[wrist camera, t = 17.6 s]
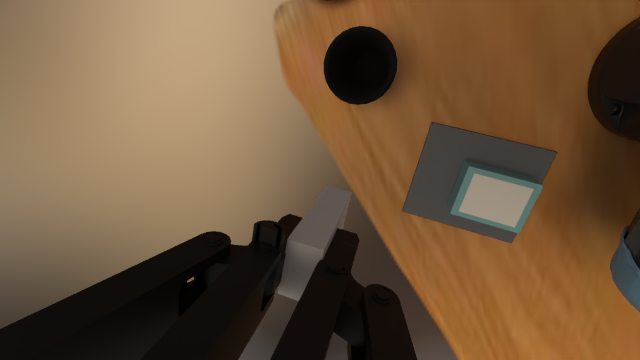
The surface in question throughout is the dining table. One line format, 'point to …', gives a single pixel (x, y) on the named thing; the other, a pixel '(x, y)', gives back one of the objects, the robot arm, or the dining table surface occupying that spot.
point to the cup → (360, 65)
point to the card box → (493, 196)
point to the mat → (445, 164)
